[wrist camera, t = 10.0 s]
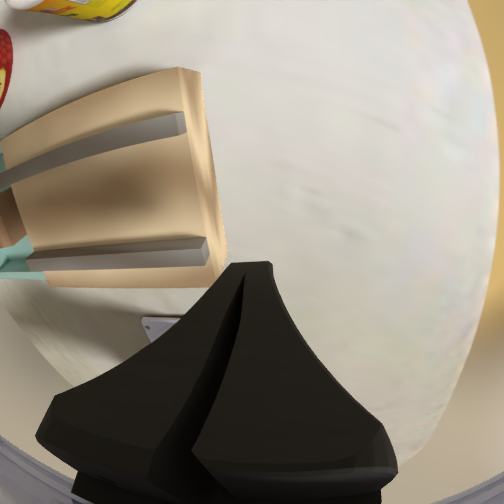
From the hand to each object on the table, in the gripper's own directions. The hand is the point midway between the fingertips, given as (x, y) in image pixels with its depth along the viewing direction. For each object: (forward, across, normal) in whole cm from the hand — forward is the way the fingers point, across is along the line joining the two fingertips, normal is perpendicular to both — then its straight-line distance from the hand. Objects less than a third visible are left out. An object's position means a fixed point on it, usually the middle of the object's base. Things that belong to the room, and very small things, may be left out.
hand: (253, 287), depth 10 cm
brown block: (+7, +22, -2) cm, 23 cm away
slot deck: (+9, +10, -2) cm, 14 cm away
